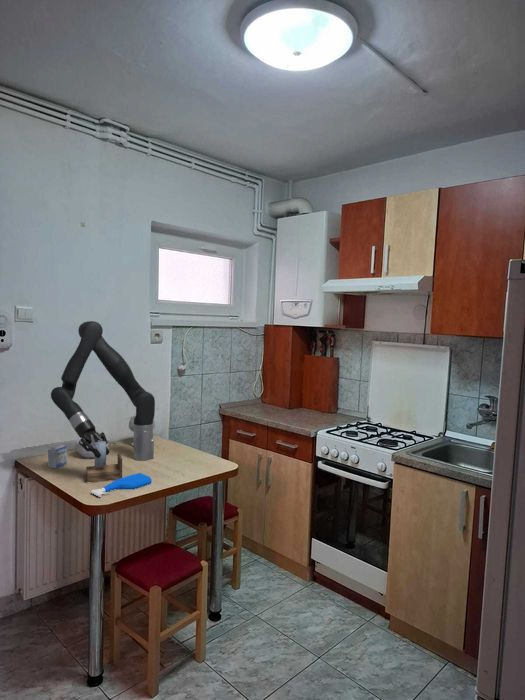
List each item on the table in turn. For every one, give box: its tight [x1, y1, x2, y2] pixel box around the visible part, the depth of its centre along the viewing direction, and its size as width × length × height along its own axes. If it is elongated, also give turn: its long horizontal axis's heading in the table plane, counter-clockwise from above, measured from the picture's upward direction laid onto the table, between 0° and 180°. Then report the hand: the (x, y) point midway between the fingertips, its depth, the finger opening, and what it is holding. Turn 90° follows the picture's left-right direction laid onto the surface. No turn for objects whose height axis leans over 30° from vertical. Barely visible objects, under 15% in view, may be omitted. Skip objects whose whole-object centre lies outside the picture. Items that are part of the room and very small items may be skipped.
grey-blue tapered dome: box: [94, 441, 107, 467], centre depth 204 cm, size 5×5×10 cm
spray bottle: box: [91, 472, 152, 498], centre depth 194 cm, size 3×11×24 cm
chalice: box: [128, 415, 156, 447], centre depth 260 cm, size 14×14×15 cm
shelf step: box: [86, 452, 123, 483], centre depth 205 cm, size 14×10×9 cm
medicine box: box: [47, 444, 68, 469], centre depth 220 cm, size 8×4×9 cm, turn 168°
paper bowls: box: [75, 437, 110, 459], centre depth 237 cm, size 15×15×8 cm
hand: (103, 455), depth 203 cm, fingers closed on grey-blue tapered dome, 4 cm apart
